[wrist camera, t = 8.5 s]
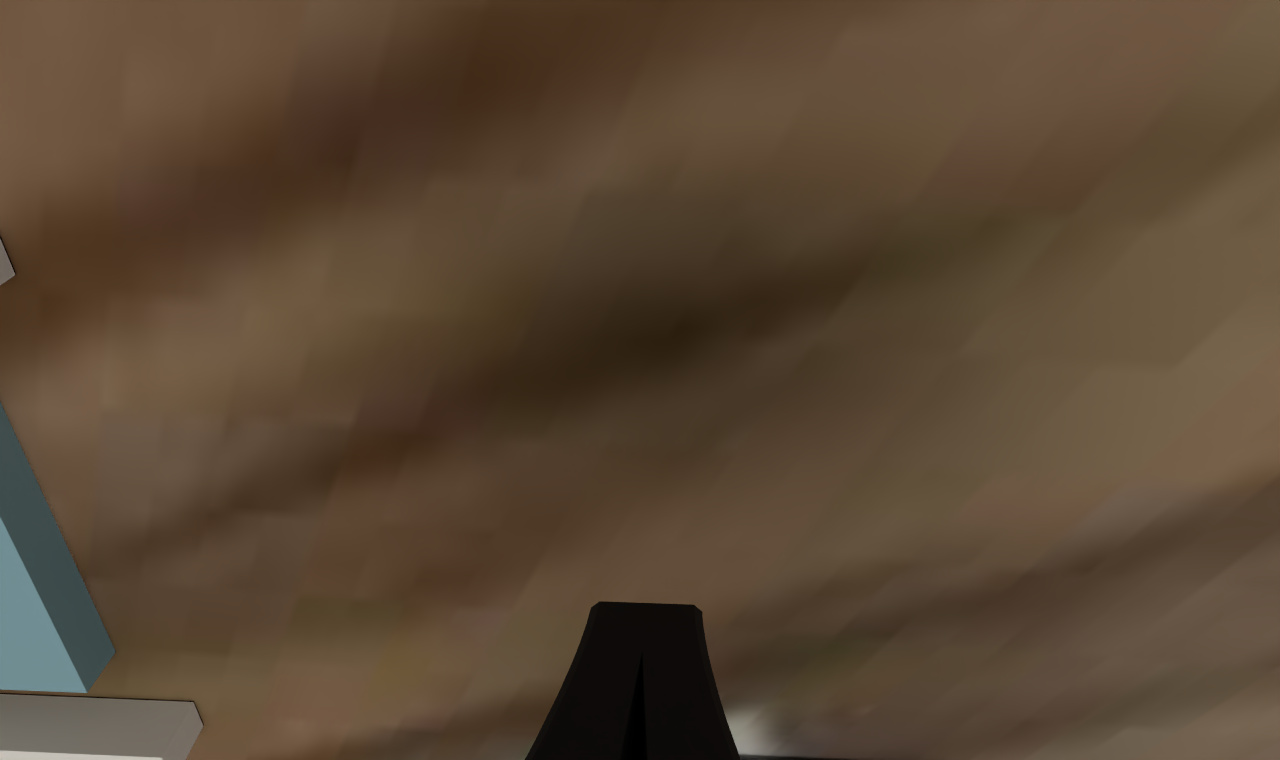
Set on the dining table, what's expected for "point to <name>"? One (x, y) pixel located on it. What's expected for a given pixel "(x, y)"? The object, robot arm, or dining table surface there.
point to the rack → (93, 715)
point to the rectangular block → (41, 590)
